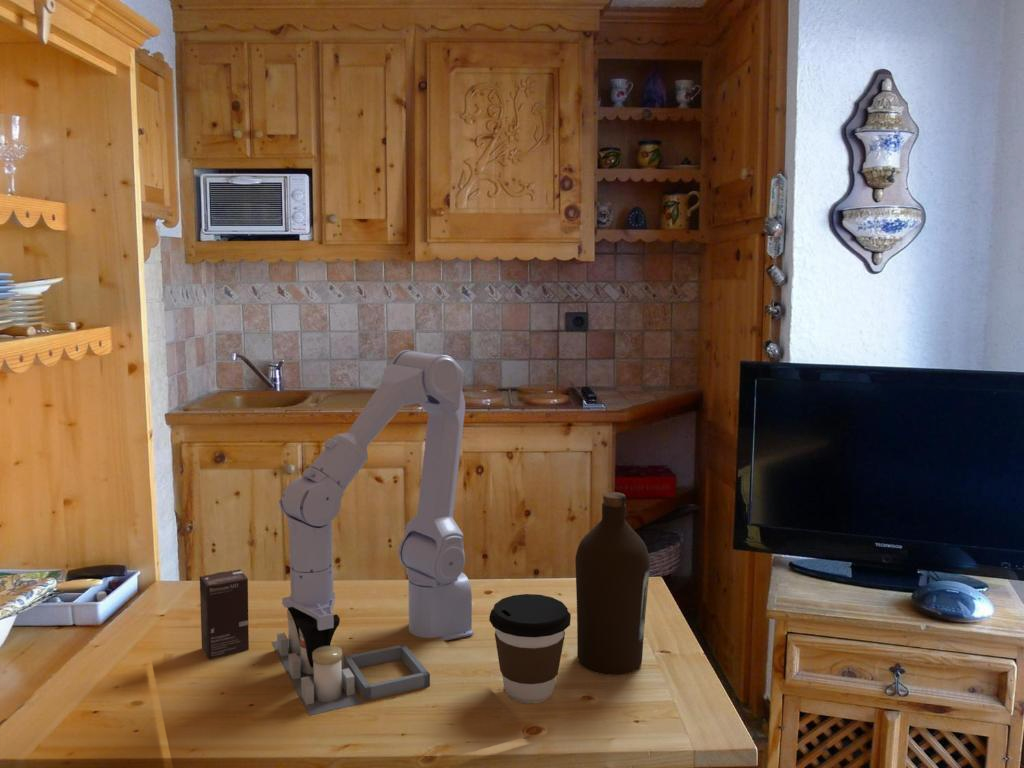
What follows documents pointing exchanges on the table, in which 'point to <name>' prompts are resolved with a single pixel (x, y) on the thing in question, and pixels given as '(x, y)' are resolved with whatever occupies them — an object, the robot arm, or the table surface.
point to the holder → (306, 681)
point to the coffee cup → (529, 644)
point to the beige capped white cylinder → (293, 635)
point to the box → (224, 613)
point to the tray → (388, 686)
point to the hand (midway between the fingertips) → (314, 658)
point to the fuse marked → (304, 657)
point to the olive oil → (611, 592)
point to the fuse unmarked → (327, 673)
